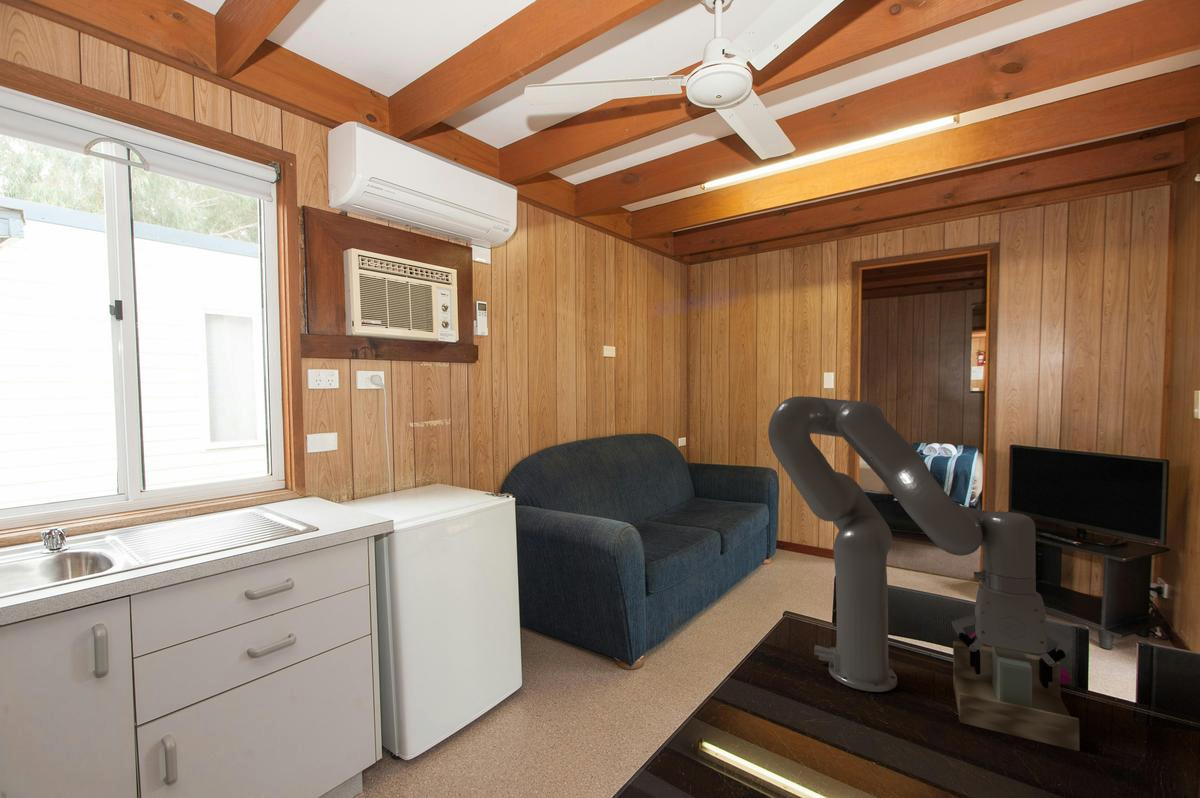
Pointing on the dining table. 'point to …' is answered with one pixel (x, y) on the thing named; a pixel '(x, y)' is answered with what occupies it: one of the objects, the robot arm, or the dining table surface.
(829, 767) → the dining table surface
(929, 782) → the dining table surface
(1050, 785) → the dining table surface
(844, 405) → the robot arm
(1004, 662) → the cabinet block
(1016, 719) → the wall board
